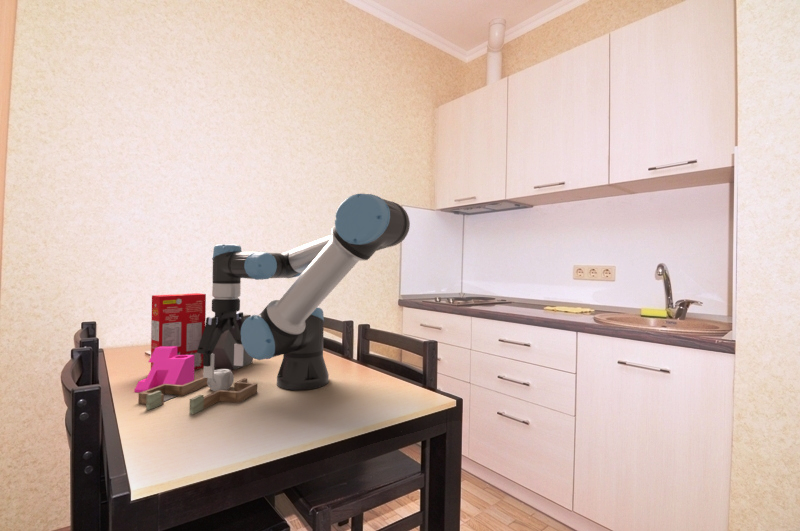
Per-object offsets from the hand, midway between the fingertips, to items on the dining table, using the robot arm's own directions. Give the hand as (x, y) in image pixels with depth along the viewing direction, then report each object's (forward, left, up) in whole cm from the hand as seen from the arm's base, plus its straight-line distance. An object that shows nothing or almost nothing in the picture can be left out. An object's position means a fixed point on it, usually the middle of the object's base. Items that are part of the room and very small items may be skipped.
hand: (224, 371), depth 117 cm
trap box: (0, +10, -4) cm, 11 cm away
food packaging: (+25, -11, -5) cm, 27 cm away
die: (0, +2, -5) cm, 5 cm away
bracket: (+16, +4, -5) cm, 17 cm away
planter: (+12, -21, -5) cm, 24 cm away
